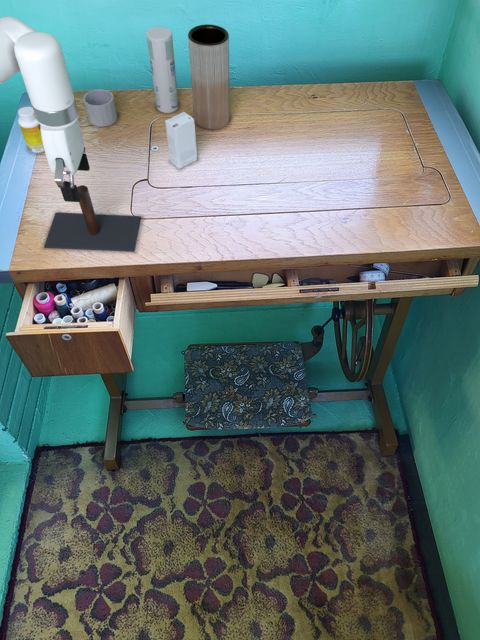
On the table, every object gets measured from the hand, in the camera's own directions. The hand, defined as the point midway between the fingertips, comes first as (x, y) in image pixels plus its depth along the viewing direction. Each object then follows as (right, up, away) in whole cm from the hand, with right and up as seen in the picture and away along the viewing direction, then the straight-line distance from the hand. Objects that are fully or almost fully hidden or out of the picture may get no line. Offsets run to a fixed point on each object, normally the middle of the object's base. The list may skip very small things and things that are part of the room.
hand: (77, 184), depth 110 cm
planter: (+25, +30, +37) cm, 54 cm away
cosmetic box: (+18, +14, +27) cm, 35 cm away
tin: (-5, +30, +35) cm, 46 cm away
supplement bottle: (-20, +18, +27) cm, 38 cm away
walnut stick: (0, -7, +11) cm, 13 cm away
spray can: (+12, +35, +39) cm, 54 cm away
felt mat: (0, -7, +11) cm, 13 cm away
